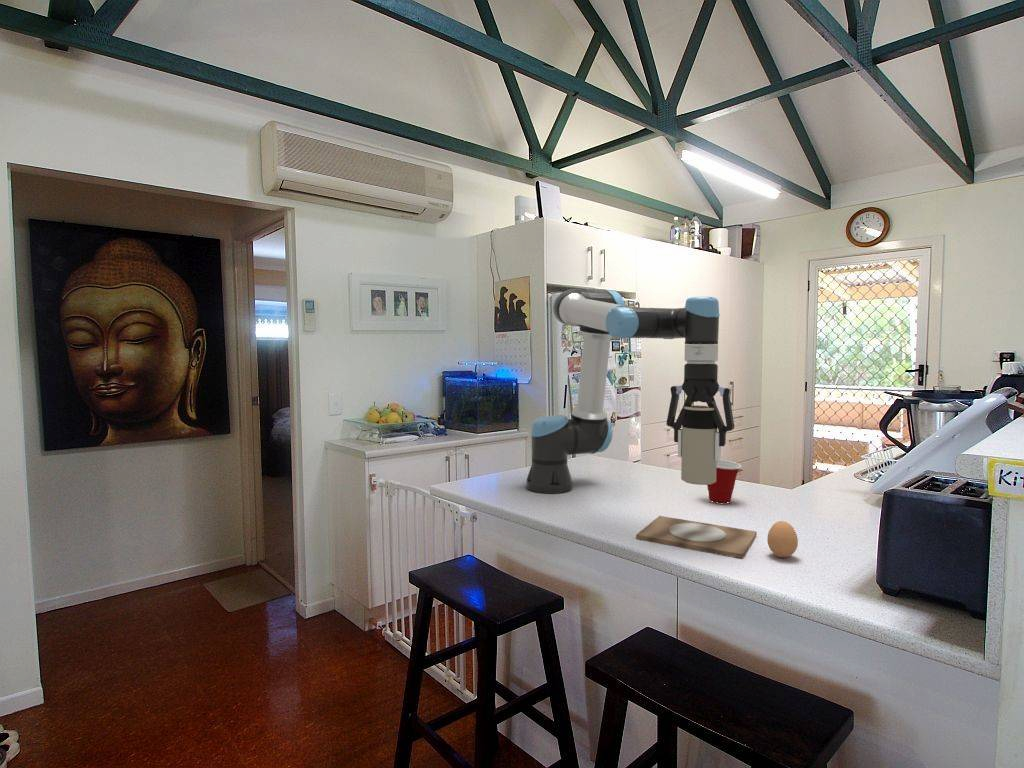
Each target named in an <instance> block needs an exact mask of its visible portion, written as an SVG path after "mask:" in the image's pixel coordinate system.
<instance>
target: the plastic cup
mask: <svg viewBox="0 0 1024 768" xmlns="http://www.w3.org/2000/svg"><path fill="white" fill-rule="evenodd" d="M741 468H742V465H741V464H740V463H738V462H734V461H732V460H731V461H730V460H725V459H722V458H721V459H720V460H719V461H717V466H716V482H715V483H713V484H709V485H706V487H707V491H708V500H709V501H710V500H711V501H713V502H718V503H727V502H730V503H731V501H732V497H733V492H734V489H735V485H736V479H737V476H738V474H739V470H740V469H741ZM711 501H710V502H711ZM713 502H712V503H713Z"/></svg>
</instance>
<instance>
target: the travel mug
mask: <svg viewBox="0 0 1024 768" xmlns="http://www.w3.org/2000/svg"><path fill="white" fill-rule="evenodd" d="M684 409H685V416H684V418H683V420H682V426H681V429H682V457H681V465H680V466H681V471H680V474H681V475H680V476H681V477H680V479H681V481H683V482H685V483H686V484H691V485H698V486H702V485H703V486H707V485H709V484H713V483H715V482H716V466H717V461H715V433H716V432H718V428H717V425H716V423H715V421H714V418H713V416H712V413H713V410H714V408H709V406H708V405H700V404H699V405H697V404H695V405H693V404H692V405H691V406H689V407H684Z"/></svg>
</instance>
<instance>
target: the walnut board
mask: <svg viewBox="0 0 1024 768" xmlns="http://www.w3.org/2000/svg"><path fill="white" fill-rule="evenodd" d="M756 535H757V531H755V530H751V529H750V530H749V529H743V528H736V527H731V526H726V525H724V526H723V525H718V524H712V523H705V522H700V521H696V520H695V521H694V520H688V519H681V518H677V517H676V518H675V517H670V516H662V515H658V516H657V517H656V518H655V519H653V520H652V521H651V522H650V523H649V524H648V525H646V526H645V527H644V528H642V529H641V530H640V531H639V532H638V533H636V535H635V539H637V540H642V541H646V540H647V542H650V543H656V542H657V543H658V544H662V543H663V544H664V545H667V546H672V545H673V547H678V548H682V549H688V548H690V550H693V549H694V551H699V550H700V552H704V551H707V552H706V553H709V552H711V553H710V554H715V553H717V554H716V555H720V554H723V555H722V556H725V555H728V556H727V557H730V556H733V557H732V558H736V557H738V558H737V559H741V558H742V559H744V558H745V556H746V555H747V553H748V551H749V549H750V548H751V546H752V544H753V542H754V541H755V540H756V537H757V536H756ZM663 544H662V545H663ZM749 547H750V548H749ZM746 552H747V553H746Z"/></svg>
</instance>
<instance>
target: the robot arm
mask: <svg viewBox="0 0 1024 768" xmlns="http://www.w3.org/2000/svg"><path fill="white" fill-rule="evenodd" d="M719 303H720V302H719V300H718V298H716V296H715V297H714V296H691V297H687V299H686V300H685V305H684V307H678V308H670V307H669V308H665V307H663V308H662V307H638V306H637V307H636V306H630V305H626V304H625V300H624V298H623V296H622V295H621V294H620V293H619V292H618V291H616V290H609V289H597V288H596V289H595V288H594V289H592V288H589V289H588V288H570V289H566V290H564V291H562V292H561V293H560V294H559V295H557V296H556V298H555V300H554V302H553V306H552V308H553V309H552V311H553V315H554V317H555V318H556V319H557V321H558V322H559V323H561V324H562V325H565V326H566V325H567V326H571V327H579V332H580V333H581V335H582V336H583V340H582V342H583V343H582V349H581V350H582V351H581V360H580V361H581V362H580V364H581V365H580V370H579V381H578V391H577V392H578V393H577V402H576V403H577V405H576V408H575V409H573V410H572V411H571V417H570V418H568V416H567V415H564V414H556V415H553V414H551V415H546V416H541V417H537V418H535V420H533V422H532V425H531V432H530V435H531V465H530V468H529V472H528V474H527V478H526V483H525V485H526V487H525V488H526V490H528V491H531V492H535V493H539V494H540V493H541V494H561V493H562V494H563V493H566V492H570V491H572V490H573V484H574V483H573V479H572V475H571V472H570V469H569V466H568V456H570V455H572V456H573V455H584V454H589V455H590V454H593V455H594V454H597V453H602V452H605V451H606V450H607V449H608V448H609V446H610V445H611V443H612V440H613V439H612V438H613V428H612V423H611V421H610V420H609V418H608V415H607V413H606V412H605V410H604V406H605V405H604V402H605V394H606V386H607V385H606V384H607V376H608V367H609V366H608V365H609V357H610V347H611V339H612V338H616V339H617V338H618V339H623V340H624V339H664V340H674V339H684V361H685V362H686V363H685V364H684V366H683V367H684V368H683V369H684V370H683V371H684V373H683V383H682V385H673V386H671V387H670V394H671V398H670V402H669V408H668V411H667V412H668V413H667V419H666V423H665V424H666V426H667V427H670V428H672V429H673V442H674V443H677V457H678V458H682V420H683V418H684V416H685V409H684V407H689V406H691V405H693V404H694V403H697V402H700V403H706V406H709V408H714V410H713V413H712V416H713V418H714V421H715V423H716V425H717V432H716V433H715V461H719V460H720V459H721V460H722V447H725V446H726V443H727V442H726V440H727V432H730V431H733V430H734V429H735V421H734V415H733V414H734V413H733V410H732V403H731V394H732V388H731V387H723V386H720V385H719V382H718V377H719V376H718V372H719V371H718V370H719V369H718V367H719V365H718V364H717V363H716V362H718V360H719V330H720V329H719V328H720V327H719V326H720V316H721V315H720V305H719ZM682 391H683V392H684V393H685V396H686V398H685V399H684V404H683V406H682V408H681V410H680V412H679V414H678V416H677V418H676V415H677V410H678V405H679V399H680V395H681V393H682ZM717 393H719V395H720V397H722V405H723V411H724V418H725V422H724V420H723V418H722V415H721V413H720V410H719V408H718V405H717V402H716V400H715V396H716V395H717Z"/></svg>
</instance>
